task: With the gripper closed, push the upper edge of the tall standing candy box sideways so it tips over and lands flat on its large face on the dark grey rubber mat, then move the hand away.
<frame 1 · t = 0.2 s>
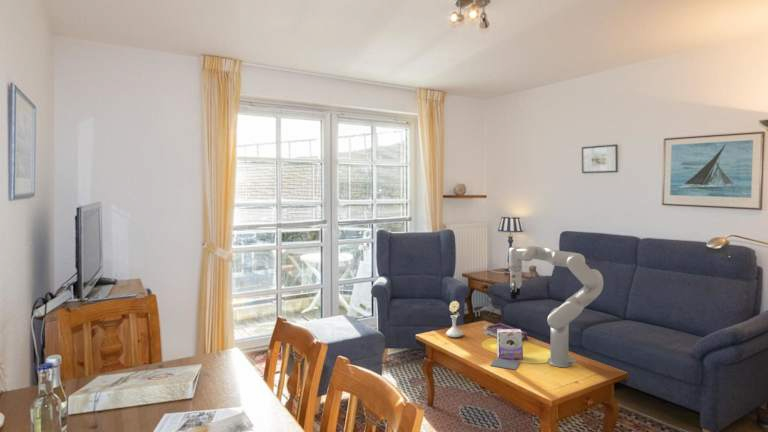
hand: (515, 296, 261), 36 cm above the table, tool pointing down, fingers open, 9 cm apart
book: (504, 337, 299), on the table
flower in vase: (455, 336, 301), on the table
candy box: (510, 357, 261), on the table
mat: (505, 364, 251), on the table
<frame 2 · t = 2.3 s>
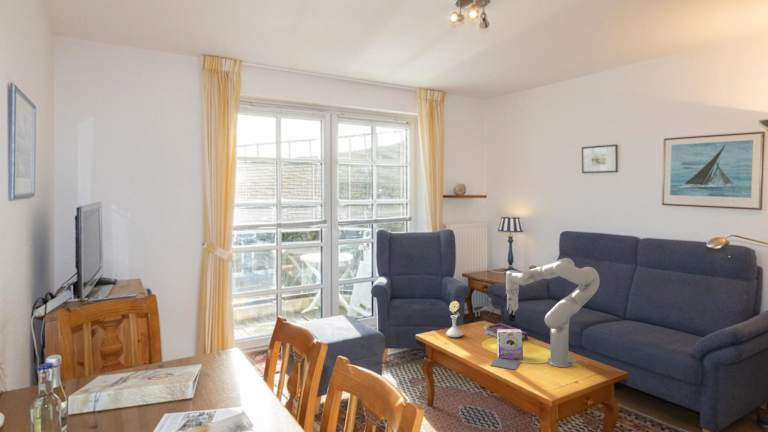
hand: (512, 320, 268), 19 cm above the table, tool pointing down, fingers closed
nothing on the table moved.
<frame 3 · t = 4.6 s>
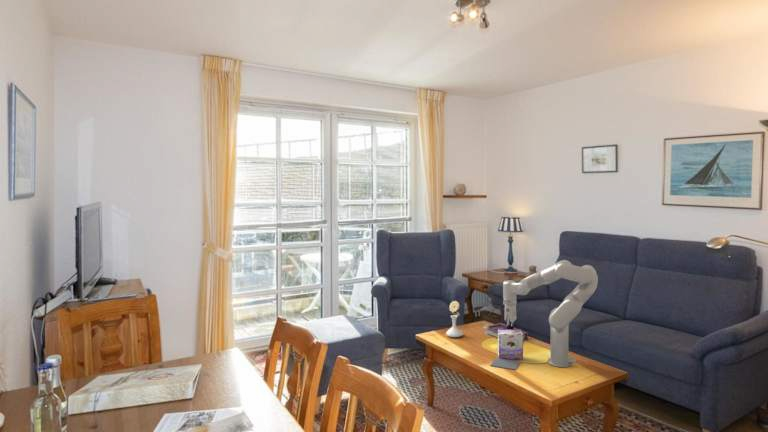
hand: (510, 332, 262), 15 cm above the table, tool pointing down, fingers closed
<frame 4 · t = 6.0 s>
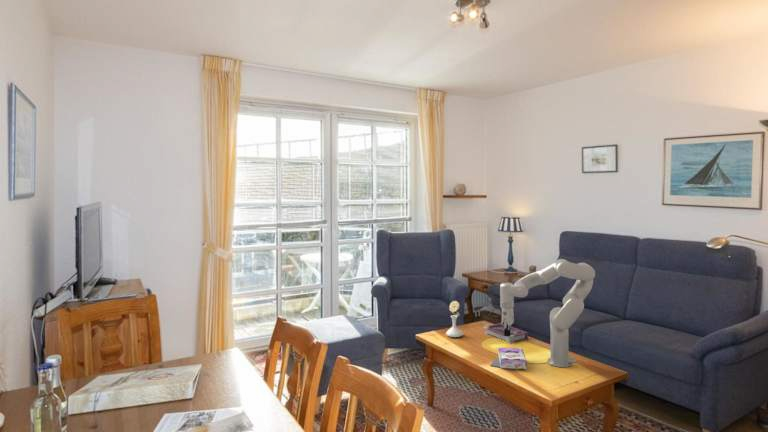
hand: (507, 335, 256), 15 cm above the table, tool pointing down, fingers closed
candy box: (510, 352, 259), point 4 cm above the table, touching mat
everything else where it was.
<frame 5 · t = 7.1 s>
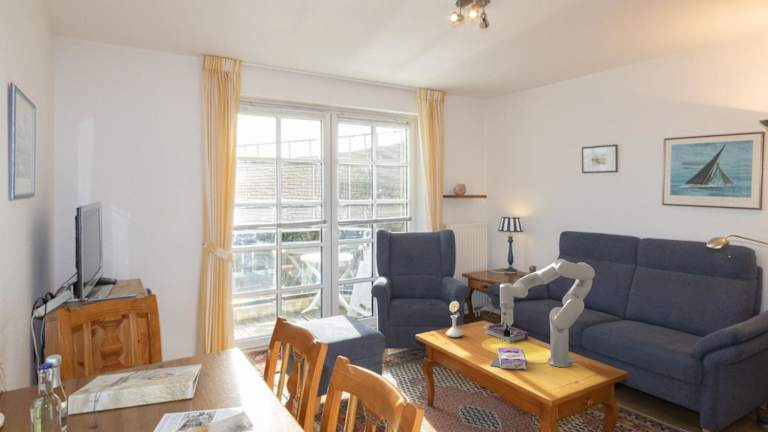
hand: (507, 336, 255), 15 cm above the table, tool pointing down, fingers closed
nothing on the table moved.
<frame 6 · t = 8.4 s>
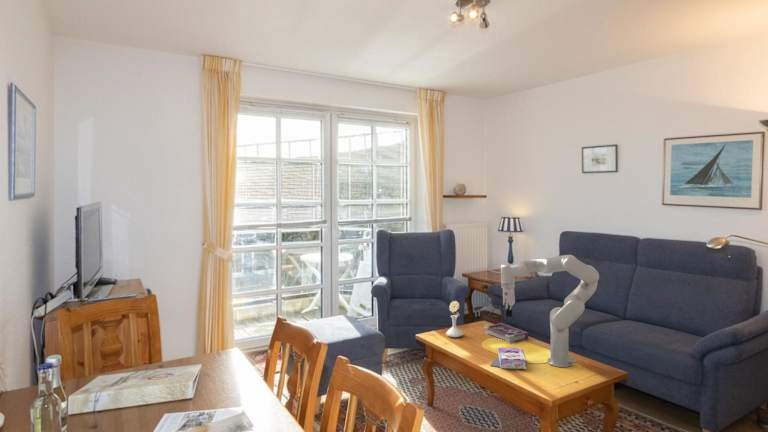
hand: (509, 316, 257), 25 cm above the table, tool pointing down, fingers closed
nothing on the table moved.
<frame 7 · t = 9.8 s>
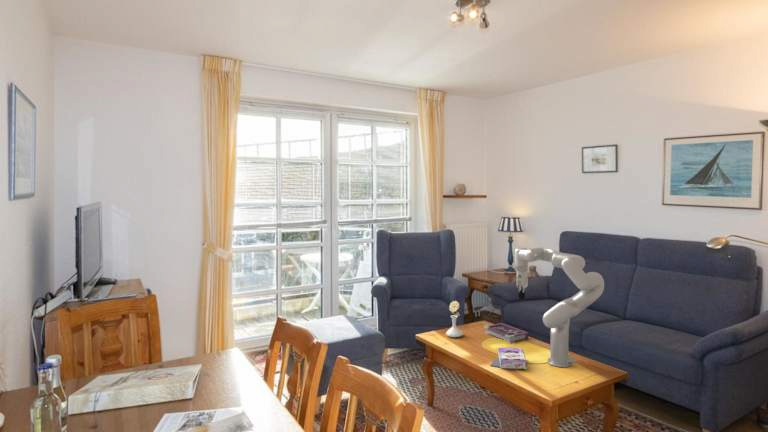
hand: (521, 298, 266), 33 cm above the table, tool pointing down, fingers closed
nothing on the table moved.
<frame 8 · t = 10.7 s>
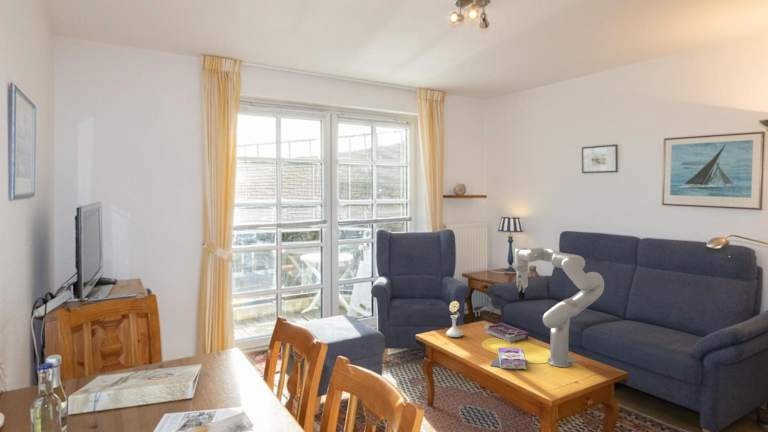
hand: (521, 298, 266), 33 cm above the table, tool pointing down, fingers closed
nothing on the table moved.
at the end: candy box tilted 90°; candy box inside the target area (9.3 cm from its centre), point 3.5 cm above the table; the gripper is holding nothing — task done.
